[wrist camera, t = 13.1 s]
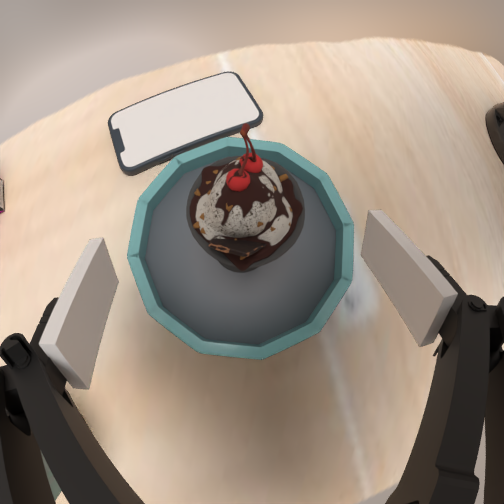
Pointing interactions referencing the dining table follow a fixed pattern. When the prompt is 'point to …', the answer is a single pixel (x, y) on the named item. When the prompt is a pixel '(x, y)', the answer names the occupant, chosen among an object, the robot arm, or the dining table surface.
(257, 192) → the sundae
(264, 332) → the round tray
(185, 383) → the dining table surface
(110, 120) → the smartphone
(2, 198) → the candy bar box
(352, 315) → the dining table surface
